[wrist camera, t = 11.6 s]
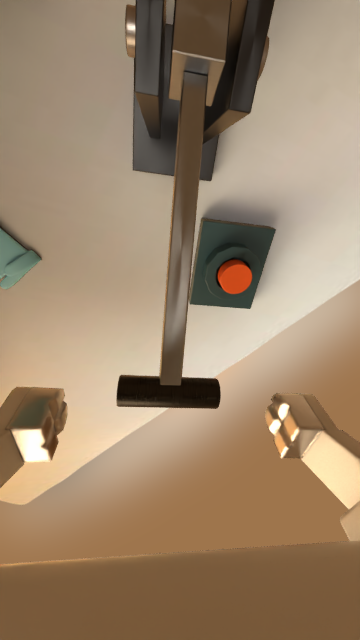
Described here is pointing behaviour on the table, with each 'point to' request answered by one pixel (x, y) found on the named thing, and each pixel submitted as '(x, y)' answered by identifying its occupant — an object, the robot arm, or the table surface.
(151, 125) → the lever bracket
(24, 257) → the owl figurine
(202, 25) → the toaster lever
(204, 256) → the button housing
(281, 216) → the table surface
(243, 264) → the stop button
